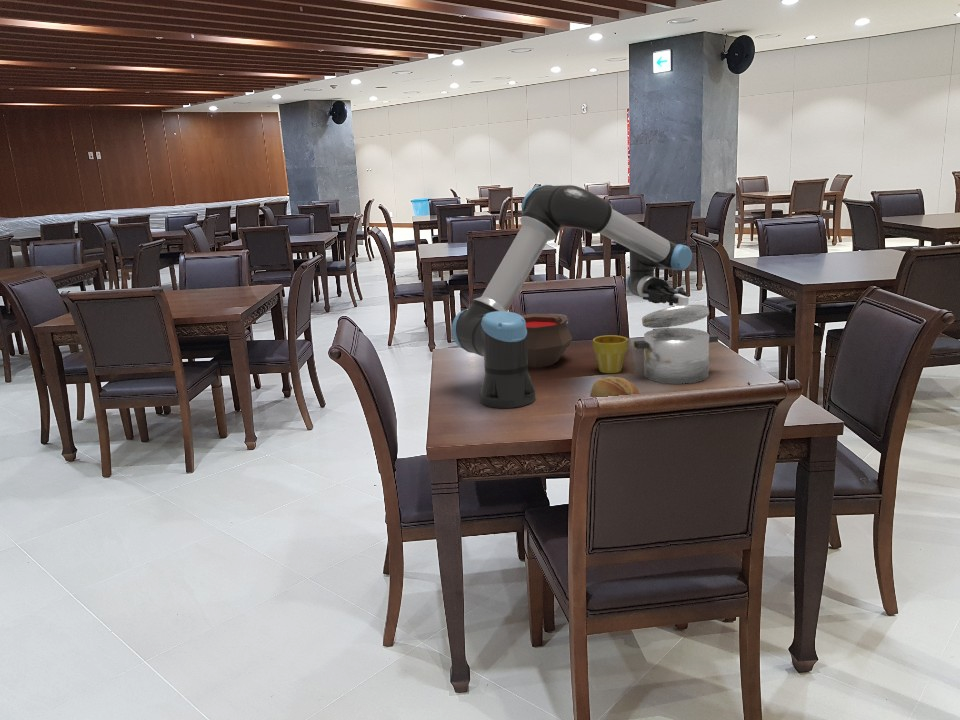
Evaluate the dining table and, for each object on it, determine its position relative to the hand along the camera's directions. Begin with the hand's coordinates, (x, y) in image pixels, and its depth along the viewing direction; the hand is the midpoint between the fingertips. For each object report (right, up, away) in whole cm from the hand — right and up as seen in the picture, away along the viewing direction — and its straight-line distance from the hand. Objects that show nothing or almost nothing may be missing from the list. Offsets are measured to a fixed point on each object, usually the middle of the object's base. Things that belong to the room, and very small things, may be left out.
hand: (685, 302), depth 202 cm
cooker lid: (-1, -4, +6) cm, 7 cm away
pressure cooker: (0, -20, +11) cm, 23 cm away
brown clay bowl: (-39, -17, +33) cm, 54 cm away
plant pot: (-18, -19, +18) cm, 32 cm away
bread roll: (-22, -28, -15) cm, 39 cm away
